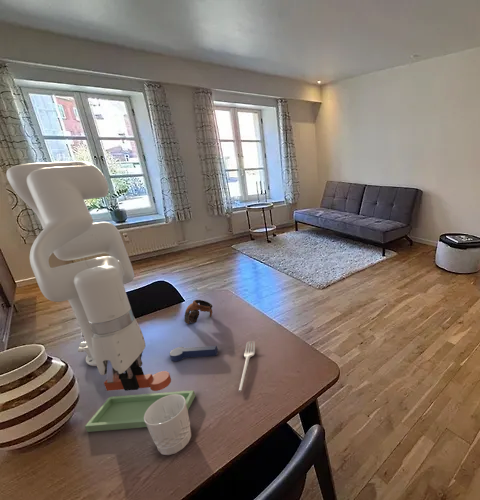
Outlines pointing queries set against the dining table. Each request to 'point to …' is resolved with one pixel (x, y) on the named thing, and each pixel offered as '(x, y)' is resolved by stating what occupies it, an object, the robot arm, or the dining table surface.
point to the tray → (128, 411)
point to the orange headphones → (196, 310)
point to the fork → (247, 362)
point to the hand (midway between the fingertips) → (135, 384)
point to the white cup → (169, 423)
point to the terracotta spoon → (145, 382)
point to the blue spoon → (192, 352)
